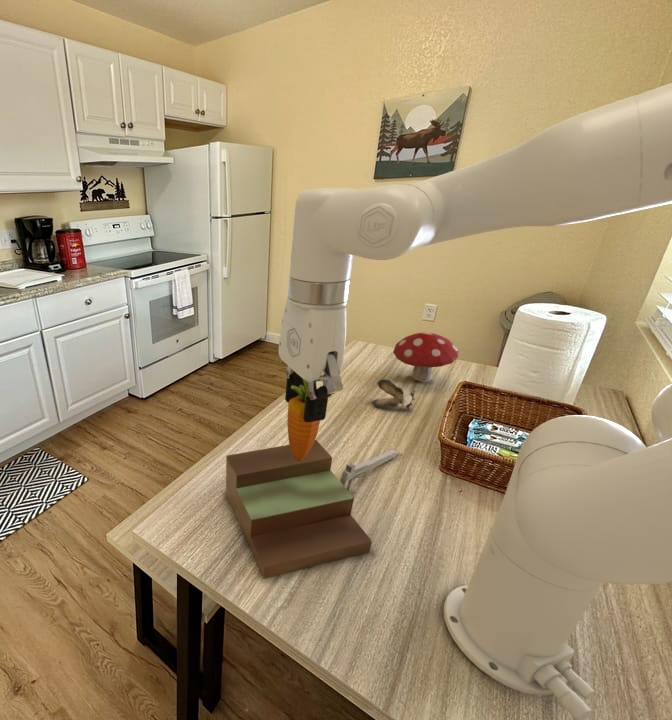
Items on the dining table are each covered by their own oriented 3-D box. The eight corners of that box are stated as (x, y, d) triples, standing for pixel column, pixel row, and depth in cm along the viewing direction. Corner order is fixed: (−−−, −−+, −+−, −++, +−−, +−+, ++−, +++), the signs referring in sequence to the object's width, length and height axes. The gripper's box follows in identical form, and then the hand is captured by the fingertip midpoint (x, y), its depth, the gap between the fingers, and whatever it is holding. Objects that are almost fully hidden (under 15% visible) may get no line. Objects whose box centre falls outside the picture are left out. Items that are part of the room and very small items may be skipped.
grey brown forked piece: (410, 396, 102) (375, 384, 105) (420, 384, 96) (383, 372, 99) (404, 421, 99) (368, 408, 102) (414, 409, 93) (376, 396, 96)
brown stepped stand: (369, 552, 61) (379, 509, 57) (263, 578, 57) (267, 534, 53) (311, 476, 77) (316, 439, 73) (225, 493, 73) (226, 455, 69)
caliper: (342, 497, 71) (347, 470, 69) (337, 494, 72) (342, 467, 70) (398, 454, 82) (404, 429, 80) (393, 451, 83) (399, 427, 81)
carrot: (309, 475, 58) (320, 389, 52) (278, 464, 61) (285, 380, 55) (318, 457, 62) (329, 375, 56) (288, 448, 65) (296, 367, 58)
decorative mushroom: (455, 398, 103) (470, 346, 97) (390, 389, 109) (400, 339, 103) (443, 373, 117) (456, 326, 111) (386, 366, 122) (395, 321, 116)
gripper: (264, 279, 57) (258, 387, 64) (327, 311, 42) (310, 447, 49) (310, 276, 58) (299, 381, 66) (387, 305, 43) (361, 438, 51)
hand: (304, 408), depth 57 cm, fingers closed on carrot, 5 cm apart
